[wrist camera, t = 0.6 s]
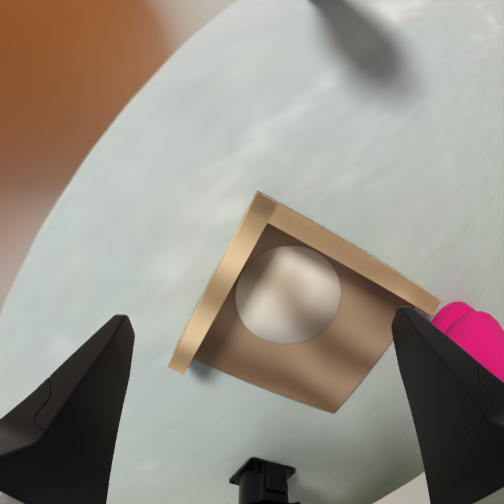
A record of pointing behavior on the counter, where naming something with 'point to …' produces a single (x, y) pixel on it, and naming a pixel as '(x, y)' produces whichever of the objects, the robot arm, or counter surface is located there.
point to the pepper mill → (474, 334)
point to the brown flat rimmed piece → (296, 309)
